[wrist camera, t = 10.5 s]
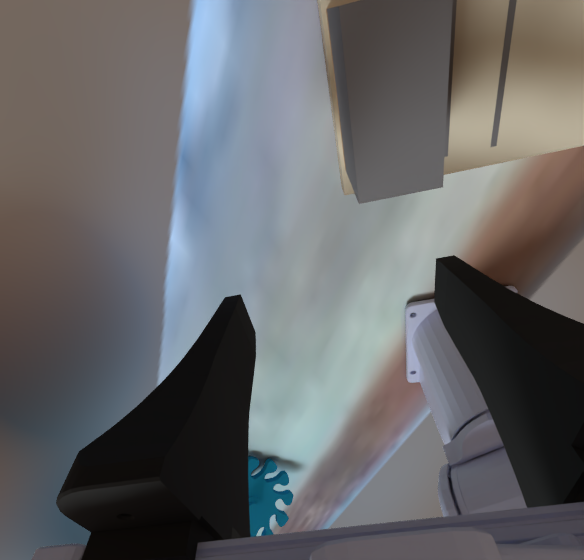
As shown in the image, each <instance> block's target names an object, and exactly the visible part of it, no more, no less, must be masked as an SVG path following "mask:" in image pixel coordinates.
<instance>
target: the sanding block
mask: <svg viewBox="0 0 584 560" xmlns="http://www.w3.org/2000/svg"><path fill="white" fill-rule="evenodd" d="M452 6H453V0H359V1H356V2H352V3H348V4H344V5H340V6H337V7H333V8H329V9H326V14H327V22H328V31H329V39H330V47H331V56H332V64H333V72H334V80H335V89H336V97H337V105H338V114H339V122H340V130H341V139H342V147H343V155H344V164H345V170H346V173H347V175H348V178H349V180H350V183H351V185H352V188H353V190H354V192H355V195H356V197H357V200H358V202H359V204H361V203H366V202H371V201H376V200H381V199H386V198H391V197H396V196H401V195H406V194H411V193H416V192H421V191H426V190H431V189H436V188H441V187H443V174H444V155H445V136H446V118H447V99H448V80H449V62H450V43H451V24H452Z"/></svg>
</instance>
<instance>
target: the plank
mask: <svg viewBox="0 0 584 560" xmlns="http://www.w3.org/2000/svg"><path fill="white" fill-rule="evenodd" d="M356 1H359V0H317V2H318V9H319V17H320V25H321V32H322V40H323V47H324V55H325V63H326V70H327V78H328V86H329V93H330V101H331V108H332V116H333V124H334V131H335V139H336V146H337V154H338V162H339V169H340V177H341V184H342V189H343V192H344V194H345V195H349V194H354V193H355V192H354V190H353V188H352V185H351V183H350V180H349V178H348V175H347V173H346V170H345V164H344V155H343V147H342V139H341V130H340V122H339V114H338V105H337V97H336V89H335V80H334V72H333V64H332V56H331V47H330V39H329V31H328V22H327V14H326V9H329V8H333V7H337V6H340V5H344V4H348V3H352V2H356ZM580 146H584V0H453V6H452V24H451V43H450V62H449V80H448V99H447V118H446V136H445V155H444V174H443V175H445V174H450V173H455V172H459V171H464V170H469V169H474V168H479V167H483V166H488V165H493V164H498V163H503V162H507V161H512V160H517V159H522V158H527V157H531V156H536V155H541V154H546V153H551V152H556V151H560V150H565V149H570V148H575V147H580Z"/></svg>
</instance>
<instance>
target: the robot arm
mask: <svg viewBox="0 0 584 560" xmlns="http://www.w3.org/2000/svg"><path fill="white" fill-rule="evenodd" d="M517 293H518V290H517V289H516V288H515V287H514V286H505V287H504V286H503V285H501V284H499V283H498V282H496V281H494V280H493V279H491V278H489V277H488V276H486V275H484V274H483V273H481V272H480V271H478V270H476V269H475V268H473V267H472V266H470V265H469V264H467V263H465V262H464V261H462V260H461V259H459V258H457V257H456V256H448V257H443V258H437V259H436V274H435V296H434V299H429V300H423V301H418V302H412V303H409V304H407V305H406V307H405V326H406V373H407V380H408V382H411V383H414V382H420V383H421V386H422V389H423V391H424V394H425V396H426V399H427V402H428V404H429V407H430V410H431V412H432V415H433V417H434V420H435V423H436V425H437V428H438V430H439V433H440V436H441V438H442V440H443V442H444V444H445V445H444V446H443V449H444V452H445V454H446V457H447V460H448V462H449V463H448V464H445V465H443V466H442V467H441V469H440V472H439V482H438V496H439V501H440V506H441V509H442V513H443V516H444V517H436V518H426V519H417V520H407V521H398V522H388V523H380V524H370V525H361V526H351V527H341V528H332V529H322V530H313V531H303V532H294V533H284V534H275V535H265V536H256V537H250V516H249V482H248V429H249V410H250V401H251V393H252V385H253V376H254V368H255V359H256V336H255V330H254V327H253V325H252V322H251V320H250V317H249V315H248V312H247V310H246V307H245V304H244V302H243V299H242V297H241V295H235V296H230V297H225V298H224V300H223V301H222V303H221V304H220V306H219V307H218V309H217V311H216V312H215V314H214V315H213V317H212V318H211V320H210V321H209V323H208V324H207V326H206V327H205V329H204V330H203V332H202V333H201V335H200V336H199V338H198V339H197V341H196V342H195V343H194V345H193V346H192V347H191V349H190V350H189V351H188V353H187V354H186V355H185V357H184V358H183V359H182V360H181V361H180V363H179V364H178V365H177V366H176V367H175V369H174V370H173V371H172V372H171V373H170V374H169V375H168V376H167V377H166V379H165V380H164V381H163V382H162V383H161V384H160V385H159V386H158V387H157V388H156V389H155V390H154V391H153V392H151V393H150V395H148V397H146V398H145V399H144V400H143V401H142V402H141V403H140V404H139V405H138V406H137V407H136V408H135V409H133V410H132V411H131V412H130V413H129V414H127V415H126V416H125V417H124V418H123V419H121V420H120V421H119V422H118V423H117V424H115V425H114V426H113V427H112V428H110V429H109V430H108V431H106V432H105V433H104V434H102V435H101V436H100V437H98V438H97V439H96V440H94V441H93V442H92V443H90V444H89V445H87V446H86V447H85V448H83V449H82V450H80V451H79V453H78V455H77V457H76V459H75V461H74V463H73V465H72V467H71V469H70V471H69V474H68V476H67V478H66V480H65V482H64V484H63V486H62V489H61V491H60V493H59V495H58V497H57V502H56V504H57V506H58V508H59V510H60V512H62V513H63V514H64V515H65V516H67V517H68V518H70V519H71V520H73V521H74V522H76V523H77V524H79V525H81V526H82V527H84V528H85V529H87V530H88V531H90V532H91V535H90V538H89V541H88V543H87V546H86V545H82V544H65V545H56V546H46V547H40V548H38V549H37V550H36V551H35V553H34V556H33V557H32V560H584V324H583V323H580V322H577V321H575V320H573V319H570V318H568V317H565V316H563V315H561V314H558V313H556V312H554V311H552V310H549V309H547V308H545V307H543V306H541V305H539V304H536V303H534V302H532V301H530V300H529V299H527V298H525V297H523V296H521V295H519V294H517ZM411 313H414V314H411Z"/></svg>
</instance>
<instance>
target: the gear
mask: <svg viewBox="0 0 584 560" xmlns="http://www.w3.org/2000/svg"><path fill="white" fill-rule="evenodd" d="M258 465H259V460H258V459H257V458H256V457H253V456H248V482H249V516H250V537H256V534H257V532H258V530H259V529H260V528H261V527H264V530H263V532H262V534H261V536H265V535H274V534H273V532H272V531H271V529H270V526H269V521H270V517H271V516H272V515H274V514H276V521H277V523H278V525H279V526H280V527H282V526H284V525H285V523H286V522H287V521H288V519H289V518H288V516H287V514H286V513H285V512H284V511H281V510H278V509H277V508H276V506H275V502H276V501H277V500H278V499H282V500H283V502H284V503H285V504H286V505H290V504H291V502H292V499H293V494H292V492H291V491H290V490H285V491H281V492H279V491H275V490H273V487H274V486H275V485H276V484H281V485H283V486H285V485H287V484H288V483H289V478H288V475H287V473H286V472H285V471H281V472H279V474H278V475H276V476H275V477H273V478H270V479H264V478H265V475H266V474H267V473H272V472H275V471H276V469H277V465H276V464H275V463H274V461H273V460H272V459H270V458H268V459H267V460H266V461H265V464H264V466H263V468H262V469H261V471H260V472H258V473H257V474H256V475H254V476H251V473H252V471H253V470H255V469H256V468H257V467H258Z"/></svg>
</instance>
